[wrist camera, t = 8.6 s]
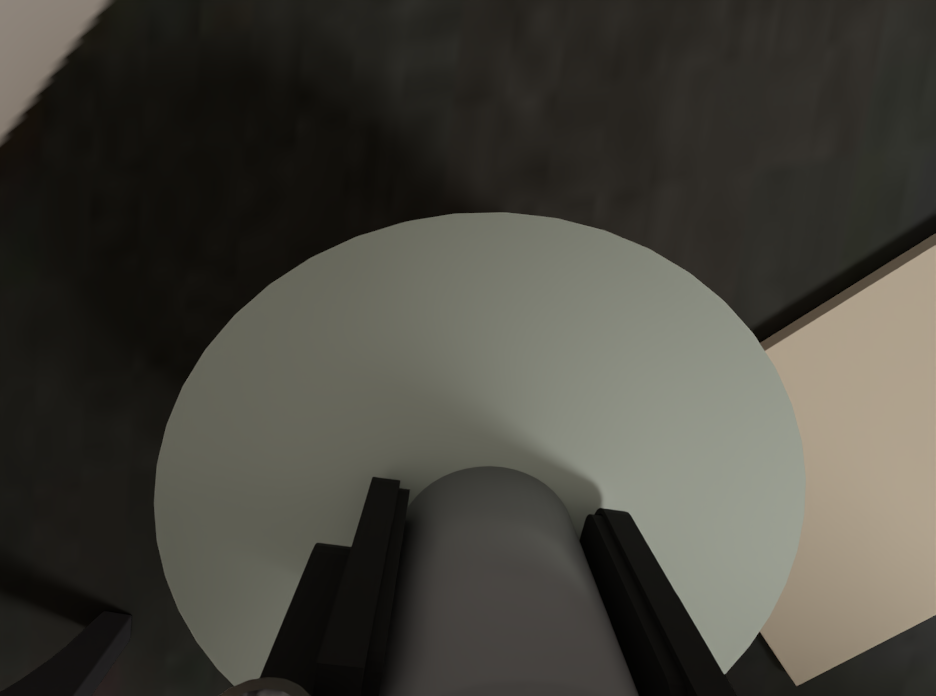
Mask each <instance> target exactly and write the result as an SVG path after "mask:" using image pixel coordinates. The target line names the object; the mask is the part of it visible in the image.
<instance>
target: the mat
mask: <svg viewBox="0 0 936 696" xmlns="http://www.w3.org/2000/svg"><path fill="white" fill-rule="evenodd" d="M760 345H761V346H762V348H763V349H764V351H765V352H766V354H767V355H768V357H769V358H770V360H771V361H772V363H773V365H774V366H775V368H776V370H777V372H778V374H779V376H780V379H781V381H782V383H783V385H784V388H785V390H786V392H787V394H788V397H789V399H790V401H791V403H792V406H793V410H794V414H795V418H796V421H797V425H798V429H799V432H800V436H801V440H802V447H803V456H804V465H805V475H806V488H805V510H804V519H803V524H802V529H801V535H800V540H799V545H798V550H797V553H796V556H795V559H794V562H793V565H792V568H791V571H790V574H789V576H788V579H787V582H786V585H785V587H784V589H783V591H782V593H781V595H780V597H779V599H778V601H777V603H776V605H775V607H774V609H773V611H772V613H771V615H770V617H769V618H768V620H767V621H766V623H765V624H764V626H763V627H762V628H761V630H760V631H759V632H760V633H761V635H762V636H763V638H764V639H765V641H766V642H767V644H768V645H769V647H770V648H771V650H772V651H773V653H774V654H775V656H776V657H777V659H778V660H779V662H780V663H781V665H782V666H783V668H784V669H785V671H786V672H787V674H788V675H789V676H790V678H791V679H792V680H793V682H794V683H795V685H796V686H798V685H800V684H802V683H804V682H806V681H808V680H810V679H812V678H814V677H816V676H818V675H820V674H821V673H823V672H825V671H827V670H829V669H831V668H833V667H835V666H837V665H839V664H841V663H843V662H845V661H847V660H849V659H851V658H853V657H855V656H857V655H858V654H860V653H862V652H864V651H866V650H868V649H870V648H872V647H874V646H876V645H878V644H880V643H882V642H884V641H886V640H888V639H890V638H892V637H894V636H895V635H897V634H899V633H901V632H903V631H905V630H907V629H909V628H911V627H913V626H915V625H917V624H919V623H921V622H923V621H925V620H927V619H929V618H930V617H932V616H934V615H936V233H935V234H934V235H932V236H930V237H929V238H927V239H926V240H924V241H922V242H921V243H919V244H918V245H916V246H914V247H913V248H911V249H910V250H908V251H906V252H905V253H903V254H902V255H900V256H898V257H897V258H895V259H894V260H892V261H890V262H889V263H887V264H886V265H884V266H882V267H881V268H879V269H878V270H876V271H874V272H873V273H871V274H870V275H868V276H866V277H865V278H863V279H862V280H860V281H858V282H857V283H855V284H854V285H852V286H850V287H849V288H847V289H846V290H844V291H842V292H841V293H839V294H838V295H836V296H834V297H833V298H831V299H830V300H828V301H826V302H825V303H823V304H822V305H820V306H818V307H817V308H815V309H814V310H812V311H810V312H809V313H807V314H806V315H804V316H802V317H801V318H799V319H798V320H796V321H794V322H793V323H791V324H789V325H788V326H786V327H785V328H783V329H781V330H780V331H778V332H777V333H775V334H773V335H772V336H770V337H769V338H767V339H765V340H764V341H762V342H761V343H760Z"/></svg>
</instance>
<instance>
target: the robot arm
mask: <svg viewBox="0 0 936 696" xmlns="http://www.w3.org/2000/svg"><path fill="white" fill-rule="evenodd" d="M399 487H400V480H394V479H386V478H379V477H372V480H371V483H370V487H369V490H368V493H367V497H366V500H365V503H364V507H363V510H362V513H361V517H360V520H359V523H358V527H357V530H356V533H355V537H354V540H353V543H352V547H349V546H341V545H333V544H325V543H316V544H315V546H314V548H313V550H312V552H311V554H310V557H309V559H308V562H307V564H306V567H305V569H304V571H303V574H302V576H301V579H300V581H299V583H298V586H297V588H296V591H295V593H294V596H293V598H292V600H291V603H290V605H289V608H288V610H287V613H286V615H285V617H284V620H283V622H282V625H281V627H280V629H279V632H278V634H277V637H276V639H275V642H274V644H273V646H272V649H271V651H270V654H269V656H268V659H267V661H266V663H265V666H264V668H263V671H262V673H261V676H260V678H258V679H252V680H248V681H245V682H243V683H241V684H238V685H236V686H233V687H231V688H229V689H227V690H226V691H225V692H223V693H222V694H221V695H219V696H379V690H380V683H381V677H382V671H383V664H384V658H385V651H386V645H387V638H388V632H389V625H390V619H391V612H392V605H393V599H394V592H395V586H396V579H397V572H398V566H399V559H400V553H401V546H402V540H403V533H404V526H405V520H406V513H407V507H408V500H409V493H410V489H403V488H399ZM579 541H580V544H581V546H582V549H583V551H584V554H585V557H586V559H587V562H588V564H589V567H590V570H591V572H592V575H593V577H594V580H595V583H596V585H597V588H598V590H599V593H600V596H601V598H602V601H603V603H604V606H605V609H606V611H607V614H608V616H609V619H610V622H611V624H612V627H613V629H614V632H615V635H616V637H617V640H618V642H619V645H620V648H621V650H622V653H623V655H624V658H625V661H626V663H627V666H628V668H629V671H630V674H631V676H632V679H633V681H634V684H635V687H636V689H637V692H638V694H639V696H736V694H735V692H734V690H733V689H732V687H731V685H730V684H729V682H728V680H727V678H726V677H725V675H724V673H723V672H722V670H721V668H720V667H719V665H718V663H717V661H716V660H715V658H714V656H713V655H712V653H711V651H710V649H709V648H708V646H707V644H706V643H705V641H704V639H703V637H702V636H701V634H700V632H699V631H698V629H697V627H696V625H695V624H694V622H693V620H692V619H691V617H690V615H689V613H688V612H687V610H686V608H685V607H684V605H683V603H682V601H681V600H680V598H679V596H678V595H677V594H676V592H675V590H674V589H673V587H672V585H671V583H670V582H669V580H668V578H667V577H666V575H665V573H664V571H663V570H662V568H661V566H660V565H659V563H658V561H657V559H656V558H655V556H654V554H653V553H652V551H651V549H650V547H649V546H648V544H647V542H646V541H645V539H644V537H643V535H642V534H641V532H640V530H639V529H638V527H637V525H636V523H635V522H634V520H633V518H632V517H631V515H630V514H629V513H628V512H626V511H619V510H612V509H605V508H599V509H597V511H596V512H595V514H589V515H587V517H586V519H585V522H584V526H583V530H582V533H581V537H580V540H579Z"/></svg>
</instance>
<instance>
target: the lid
mask: <svg viewBox="0 0 936 696" xmlns="http://www.w3.org/2000/svg"><path fill="white" fill-rule="evenodd" d="M372 477H379V478H386V479H394V480H400V487H399V488H403V489H410V493H409V500H408V507H407V513H406V520H405V526H404V533H403V540H402V546H401V553H400V559H399V566H398V572H397V579H396V586H395V592H394V599H393V605H392V612H391V619H390V625H389V632H388V638H387V645H386V651H385V658H384V664H383V671H382V677H381V683H380V690H379V696H639V694H638V692H637V689H636V687H635V684H634V681H633V679H632V676H631V674H630V671H629V668H628V666H627V663H626V661H625V658H624V655H623V653H622V650H621V648H620V645H619V642H618V640H617V637H616V635H615V632H614V629H613V627H612V624H611V622H610V619H609V616H608V614H607V611H606V609H605V606H604V603H603V601H602V598H601V596H600V593H599V590H598V588H597V585H596V583H595V580H594V577H593V575H592V572H591V570H590V567H589V564H588V562H587V559H586V557H585V554H584V551H583V549H582V546H581V544H580V541H579V540H580V537H581V533H582V530H583V526H584V522H585V519H586V517H587V515H589V514H595V512H596V511H597V509H599V508H605V509H612V510H619V511H626V512H628V513H629V514H630V515H631V517H632V518H633V520H634V522H635V523H636V525H637V527H638V529H639V530H640V532H641V534H642V535H643V537H644V539H645V541H646V542H647V544H648V546H649V547H650V549H651V551H652V553H653V554H654V556H655V558H656V559H657V561H658V563H659V565H660V566H661V568H662V570H663V571H664V573H665V575H666V577H667V578H668V580H669V582H670V583H671V585H672V587H673V589H674V590H675V592H676V594H677V595H678V596H679V598H680V600H681V601H682V603H683V605H684V607H685V608H686V610H687V612H688V613H689V615H690V617H691V619H692V620H693V622H694V624H695V625H696V627H697V629H698V631H699V632H700V634H701V636H702V637H703V639H704V641H705V643H706V644H707V646H708V648H709V649H710V651H711V653H712V655H713V656H714V658H715V660H716V661H717V663H718V665H719V667H720V668H721V670H722V672H723V673H724V674H726V673H727V672H728V670H729V669H730V668H731V667H732V666H733V665H734V664H735V662H736V661H737V660H738V659H739V658H740V657H741V655H742V654H743V653H744V652H745V651H746V650H747V648H748V647H749V646H750V645H751V643H752V642H753V640H754V639H755V637H756V636H757V634H758V633H759V631H760V630H761V628H762V627H763V626H764V624H765V623H766V621H767V620H768V618H769V617H770V615H771V613H772V611H773V609H774V607H775V605H776V603H777V601H778V599H779V597H780V595H781V593H782V591H783V589H784V587H785V585H786V582H787V579H788V576H789V574H790V571H791V568H792V565H793V562H794V559H795V556H796V553H797V550H798V545H799V540H800V535H801V529H802V524H803V519H804V510H805V488H806V475H805V465H804V456H803V447H802V440H801V436H800V432H799V429H798V425H797V421H796V418H795V414H794V410H793V406H792V403H791V401H790V399H789V397H788V394H787V392H786V390H785V388H784V385H783V383H782V381H781V379H780V376H779V374H778V372H777V370H776V368H775V366H774V365H773V363H772V361H771V360H770V358H769V357H768V355H767V354H766V352H765V351H764V349H763V348H762V346H761V345H760V343H759V341H758V340H757V338H756V337H755V335H754V334H753V333H752V331H751V330H750V329H749V328H748V327H747V326H746V325H745V324H744V323H743V321H742V320H741V319H740V318H739V317H738V316H737V315H736V314H735V313H734V311H733V310H732V309H731V308H730V307H729V306H728V305H727V304H726V303H725V301H723V300H722V299H721V298H720V297H719V296H717V295H716V294H715V293H714V292H712V291H711V290H710V289H709V288H708V287H706V286H705V285H704V284H703V283H701V282H700V281H699V280H698V279H697V278H695V277H694V276H693V275H692V274H690V273H689V272H687V271H686V270H684V269H682V268H681V267H679V266H677V265H676V264H674V263H672V262H671V261H669V260H667V259H665V258H664V257H662V256H660V255H659V254H657V253H655V252H654V251H652V250H650V249H648V248H646V247H643V246H641V245H639V244H636V243H634V242H631V241H629V240H627V239H624V238H622V237H619V236H617V235H614V234H612V233H610V232H607V231H605V230H601V229H597V228H593V227H589V226H585V225H581V224H577V223H573V222H570V221H566V220H562V219H558V218H550V217H541V216H533V215H524V214H515V213H505V212H497V213H455V214H449V215H443V216H436V217H430V218H424V219H418V220H412V221H406V222H403V223H399V224H396V225H393V226H390V227H386V228H383V229H380V230H376V231H373V232H370V233H367V234H363V235H360V236H357V237H354V238H352V239H350V240H348V241H346V242H344V243H341V244H339V245H337V246H335V247H333V248H331V249H328V250H326V251H324V252H322V253H320V254H318V255H315V256H313V257H311V258H309V259H308V260H306V261H305V262H303V263H302V264H300V265H299V266H297V267H296V268H294V269H292V270H291V271H289V272H288V273H286V274H285V275H283V276H282V277H280V278H279V279H277V280H275V281H274V282H272V283H271V284H269V285H268V286H267V287H266V288H265V289H264V290H263V291H261V292H260V293H259V294H258V295H257V296H256V297H255V298H253V299H252V300H251V301H250V302H249V303H248V304H247V305H245V306H244V307H243V308H242V309H241V310H240V311H239V312H237V313H236V314H235V315H234V316H233V317H232V319H231V320H230V321H229V322H228V323H227V325H226V326H225V327H224V328H223V329H222V330H221V332H220V333H219V334H218V335H217V336H216V337H215V339H214V340H213V341H212V342H211V343H210V345H209V346H208V347H207V348H206V349H205V351H204V352H203V354H202V356H201V357H200V359H199V361H198V362H197V364H196V365H195V367H194V369H193V370H192V372H191V374H190V375H189V377H188V378H187V380H186V382H185V383H184V385H183V387H182V389H181V391H180V394H179V396H178V398H177V401H176V403H175V406H174V408H173V410H172V413H171V415H170V418H169V420H168V422H167V425H166V429H165V433H164V437H163V441H162V445H161V449H160V453H159V457H158V462H157V469H156V481H155V494H154V513H155V526H156V539H157V544H158V548H159V553H160V557H161V561H162V566H163V570H164V574H165V578H166V580H167V583H168V585H169V588H170V590H171V593H172V595H173V598H174V600H175V603H176V605H177V608H178V610H179V612H180V614H181V616H182V617H183V619H184V621H185V623H186V624H187V626H188V628H189V629H190V631H191V633H192V635H193V636H194V638H195V640H196V642H197V643H198V644H199V646H200V647H201V648H202V649H203V651H204V652H205V653H206V655H207V656H208V657H209V659H210V660H211V661H212V662H213V664H214V665H215V666H216V668H217V669H218V670H219V671H220V672H221V673H222V674H223V675H224V676H225V677H226V678H227V679H228V680H229V681H230V682H231V683H232V684H233V685H234V686H236V685H238V684H241V683H243V682H245V681H248V680H252V679H258V678H260V676H261V673H262V671H263V668H264V666H265V663H266V661H267V659H268V656H269V654H270V651H271V649H272V646H273V644H274V642H275V639H276V637H277V634H278V632H279V629H280V627H281V625H282V622H283V620H284V617H285V615H286V613H287V610H288V608H289V605H290V603H291V600H292V598H293V596H294V593H295V591H296V588H297V586H298V583H299V581H300V579H301V576H302V574H303V571H304V569H305V567H306V564H307V562H308V559H309V557H310V554H311V552H312V550H313V548H314V546H315V544H316V543H325V544H333V545H341V546H349V547H352V543H353V540H354V537H355V533H356V530H357V527H358V523H359V520H360V517H361V513H362V510H363V507H364V503H365V500H366V497H367V493H368V490H369V487H370V483H371V480H372Z"/></svg>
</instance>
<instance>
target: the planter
mask: <svg viewBox="0 0 936 696" xmlns="http://www.w3.org/2000/svg"><path fill="white" fill-rule="evenodd" d="M131 620H132V616H131V615H127V614H120V613H114V612H108V611H103V612H102V613H101V614H100V615H99V616H98V617H97V618H96V619H95V620H94V621H92V622H91V623H90V624H89V625H88V626H87V627H86V628H85V629H84V630H83V631H82V632H81V633H80V634H79V635H78V636H77V637H75V638H74V639H73V640H72V641H71V642H70V643H69V644H68V645H67V646H66V647H64V648H63V649H62V650H61V651H60V652H58V653H57V654H56V655H55V656H53V657H52V658H51V659H50V660H48V661H47V662H45V663H44V664H42V665H41V666H40V667H38V668H37V669H35V670H34V671H32V672H31V673H30V674H28V675H27V676H25V677H24V678H23V679H21V680H20V681H18V682H16V683H15V684H13V685H11V686H10V687H8V688H6V689H5V690H3V691H1V692H0V696H92V694H93V693H94V691H95V690H96V688H97V687H98V685H99V684H100V682H101V681H102V680H103V678H104V677H105V675H106V674H107V672H108V671H109V669H110V668H111V667H112V665H113V664H114V662H115V661H116V659H117V658H118V656H119V655H120V653H121V652H122V651H123V649H124V648H125V646H126V645H127V643H128V642H129V640H130V634H131Z"/></svg>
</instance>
